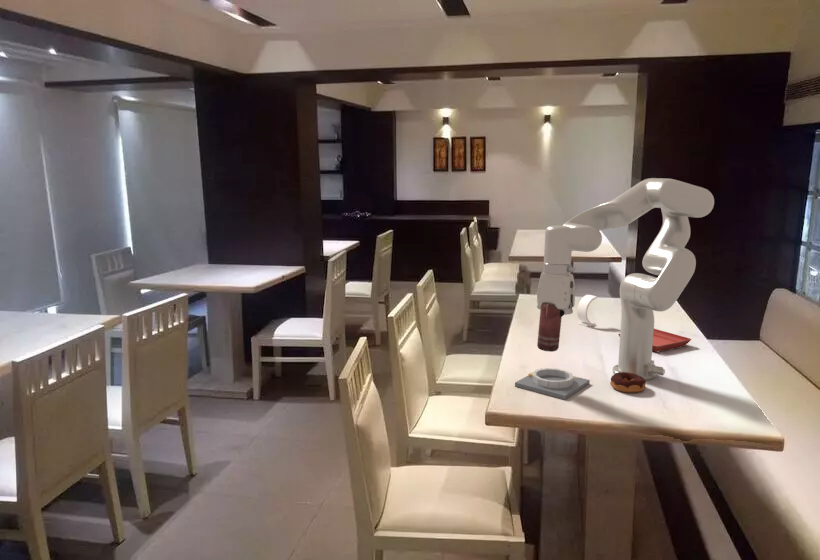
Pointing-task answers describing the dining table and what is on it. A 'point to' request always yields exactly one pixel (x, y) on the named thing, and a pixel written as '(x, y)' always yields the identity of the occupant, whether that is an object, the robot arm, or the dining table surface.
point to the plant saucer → (667, 341)
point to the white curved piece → (585, 310)
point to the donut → (627, 382)
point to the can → (549, 328)
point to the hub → (552, 382)
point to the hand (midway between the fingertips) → (553, 331)
